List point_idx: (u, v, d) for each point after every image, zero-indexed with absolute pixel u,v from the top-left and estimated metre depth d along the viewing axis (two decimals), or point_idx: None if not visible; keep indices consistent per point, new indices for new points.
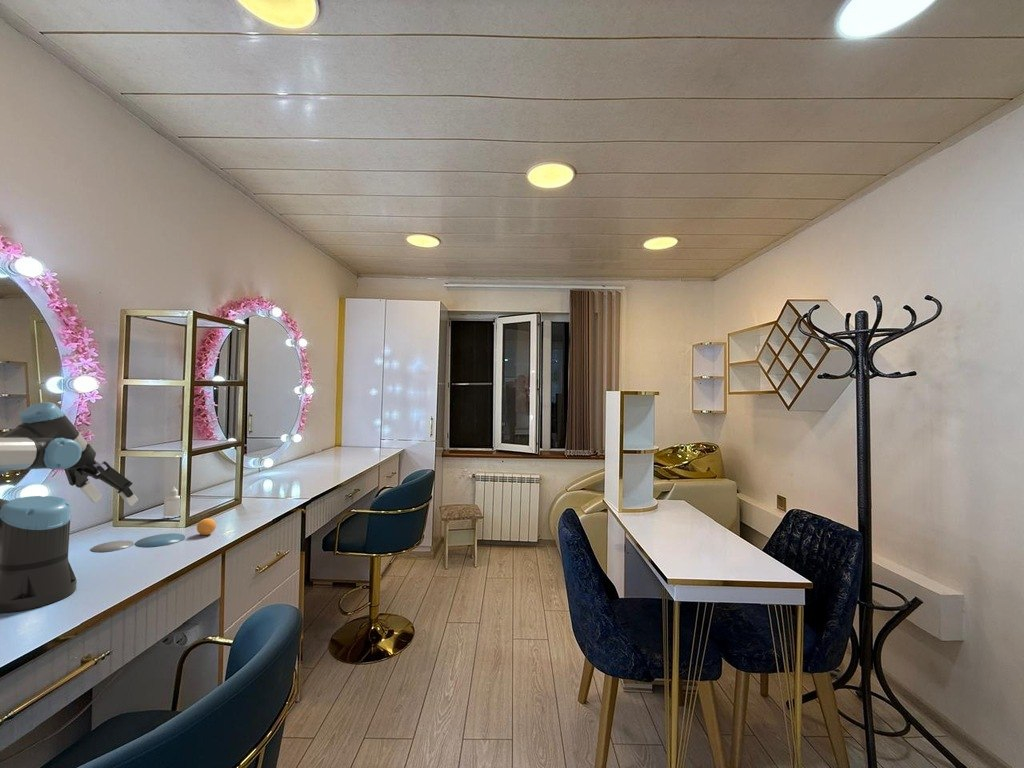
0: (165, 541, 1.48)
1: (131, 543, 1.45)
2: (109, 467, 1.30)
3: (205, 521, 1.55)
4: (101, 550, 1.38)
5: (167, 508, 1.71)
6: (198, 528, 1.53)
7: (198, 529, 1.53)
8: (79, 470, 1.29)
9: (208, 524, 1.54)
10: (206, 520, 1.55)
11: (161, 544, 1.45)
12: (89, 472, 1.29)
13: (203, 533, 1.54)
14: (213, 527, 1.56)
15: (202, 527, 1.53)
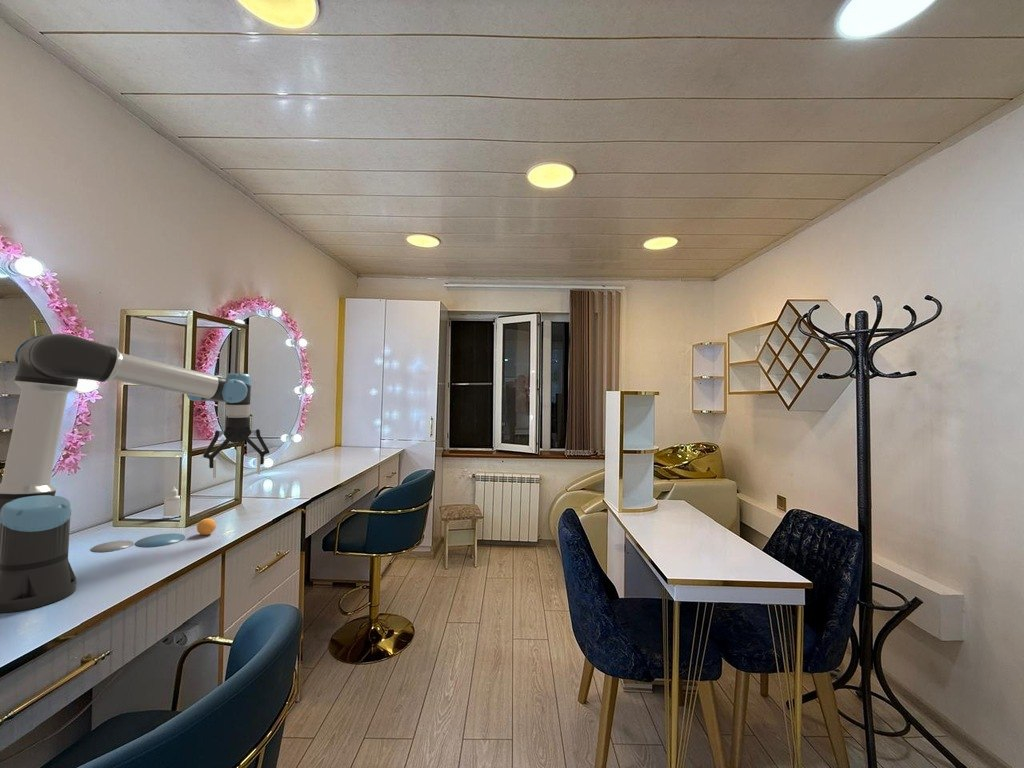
0: (165, 541, 1.48)
1: (131, 543, 1.45)
2: None
3: (205, 521, 1.55)
4: (101, 550, 1.38)
5: (167, 508, 1.71)
6: (198, 528, 1.53)
7: (198, 529, 1.53)
8: (235, 434, 1.59)
9: (208, 524, 1.54)
10: (206, 520, 1.55)
11: (161, 544, 1.45)
12: (245, 435, 1.61)
13: (203, 533, 1.54)
14: (213, 527, 1.56)
15: (202, 527, 1.53)
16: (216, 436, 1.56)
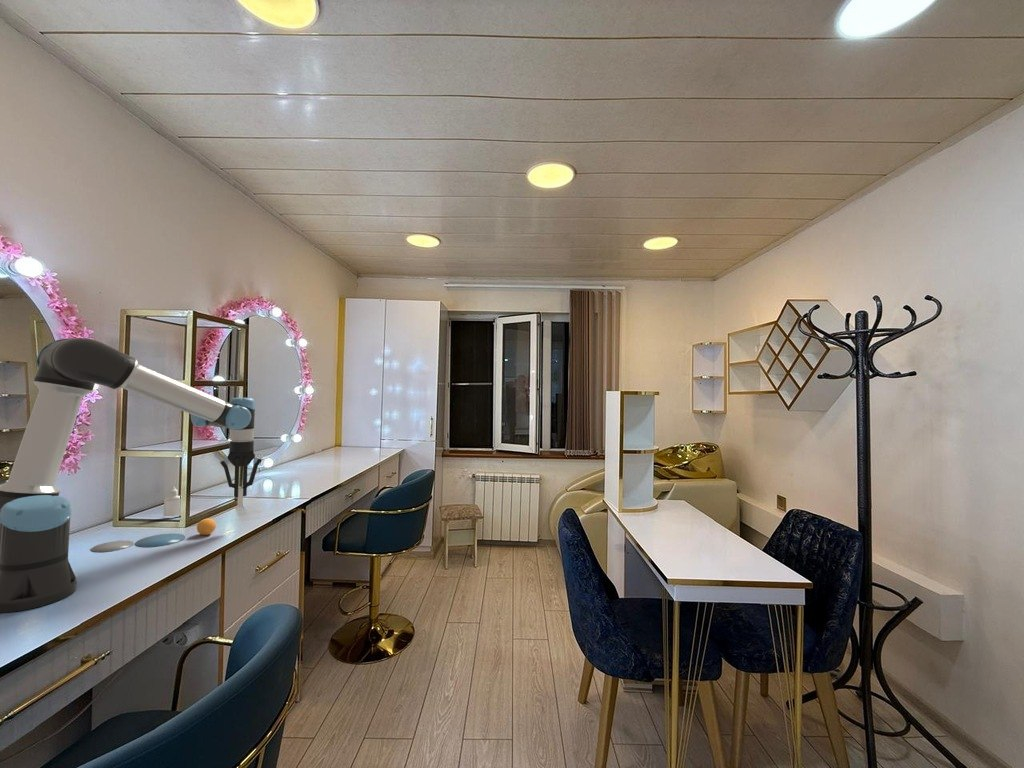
0: (165, 541, 1.48)
1: (131, 543, 1.45)
2: None
3: (205, 521, 1.55)
4: (101, 550, 1.38)
5: (167, 508, 1.71)
6: (198, 528, 1.53)
7: (198, 529, 1.53)
8: (238, 457, 1.60)
9: (208, 524, 1.54)
10: (206, 520, 1.55)
11: (161, 544, 1.45)
12: None
13: (203, 533, 1.54)
14: (213, 527, 1.56)
15: (202, 527, 1.53)
16: (224, 466, 1.58)
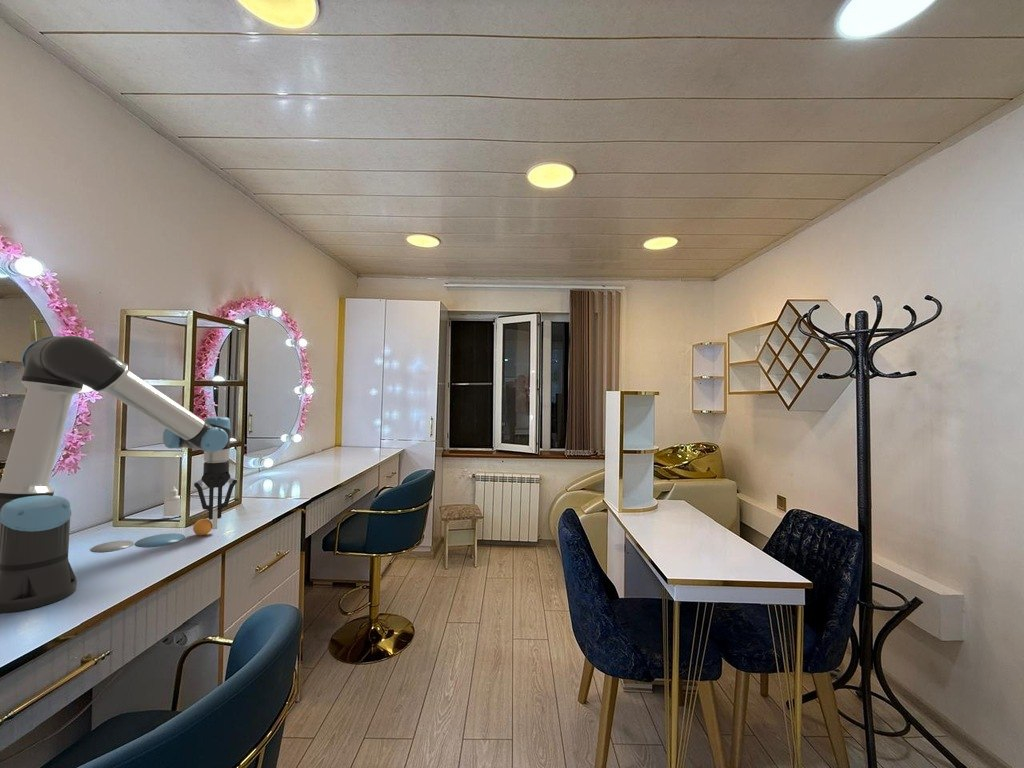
0: (165, 541, 1.48)
1: (131, 543, 1.45)
2: None
3: (200, 522, 1.54)
4: (101, 550, 1.38)
5: (167, 508, 1.71)
6: (194, 530, 1.53)
7: (195, 531, 1.53)
8: (213, 479, 1.56)
9: (203, 525, 1.53)
10: (200, 521, 1.54)
11: (161, 544, 1.45)
12: (222, 482, 1.57)
13: (201, 534, 1.54)
14: (209, 526, 1.55)
15: (199, 528, 1.53)
16: (198, 487, 1.53)
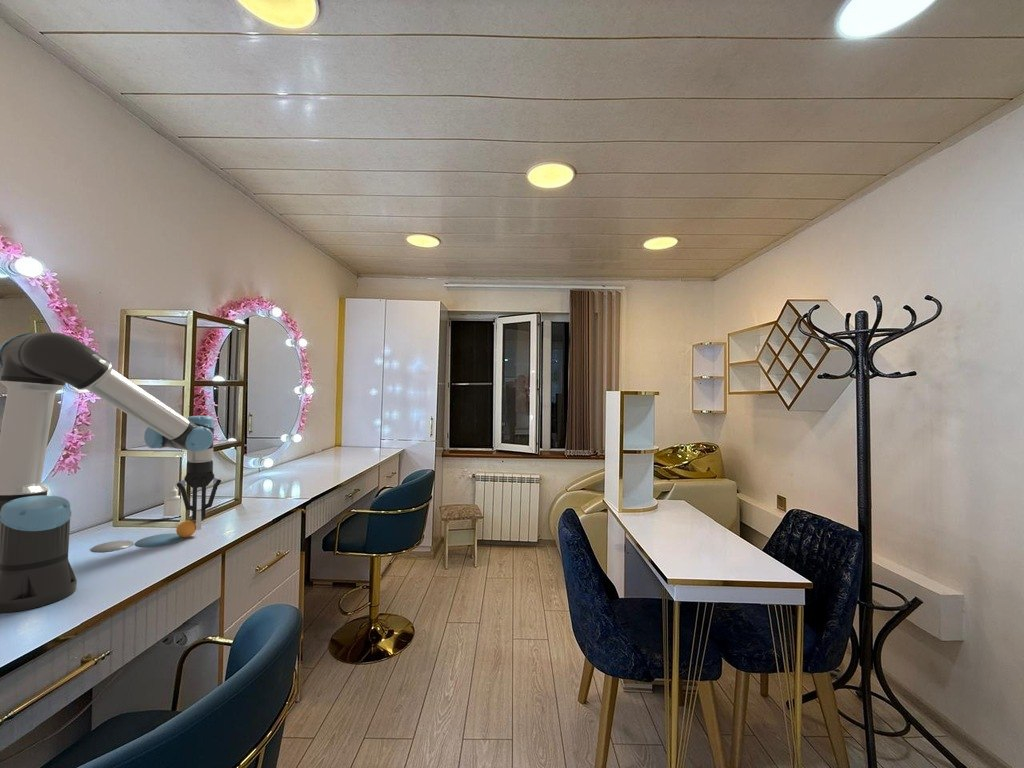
0: (165, 541, 1.48)
1: (131, 543, 1.45)
2: None
3: (181, 525, 1.51)
4: (101, 550, 1.38)
5: (167, 508, 1.71)
6: (179, 534, 1.50)
7: (179, 535, 1.51)
8: (196, 479, 1.53)
9: (185, 527, 1.51)
10: (181, 524, 1.51)
11: (161, 544, 1.45)
12: (205, 482, 1.55)
13: (187, 535, 1.51)
14: (192, 526, 1.52)
15: (182, 532, 1.50)
16: (181, 488, 1.51)
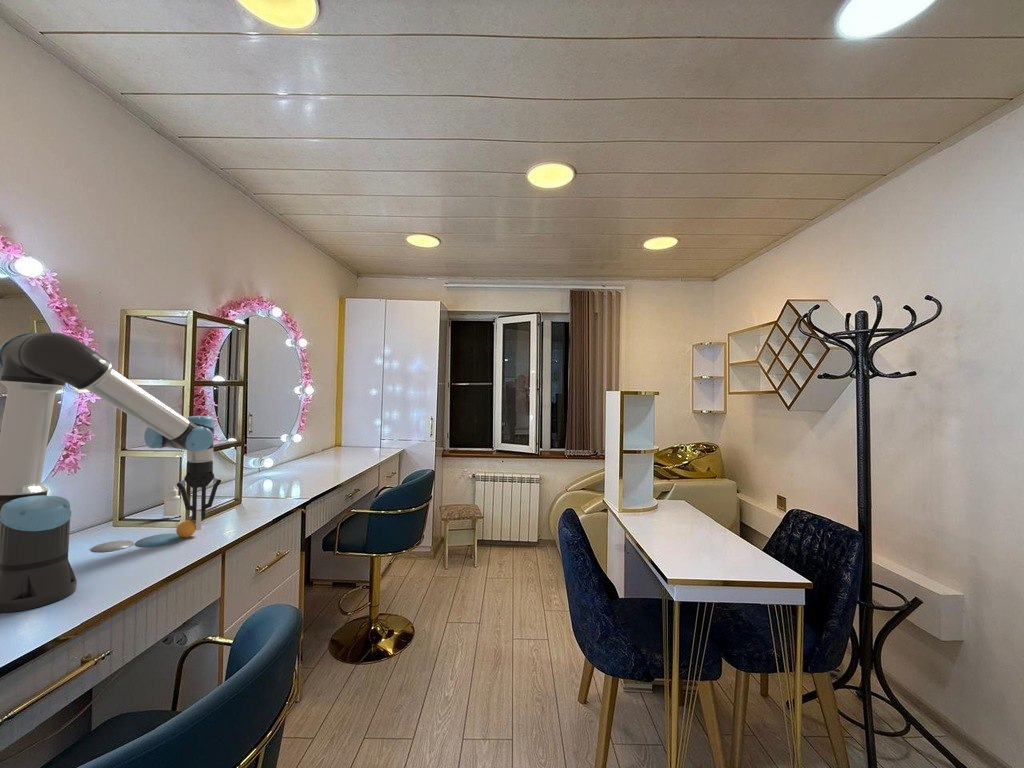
0: (165, 541, 1.48)
1: (131, 543, 1.45)
2: None
3: (181, 525, 1.51)
4: (101, 550, 1.38)
5: (167, 508, 1.71)
6: (179, 534, 1.50)
7: (179, 535, 1.51)
8: (196, 479, 1.53)
9: (185, 527, 1.51)
10: (181, 524, 1.51)
11: (161, 544, 1.45)
12: (205, 482, 1.55)
13: (187, 535, 1.51)
14: (192, 526, 1.52)
15: (182, 532, 1.50)
16: (181, 488, 1.51)
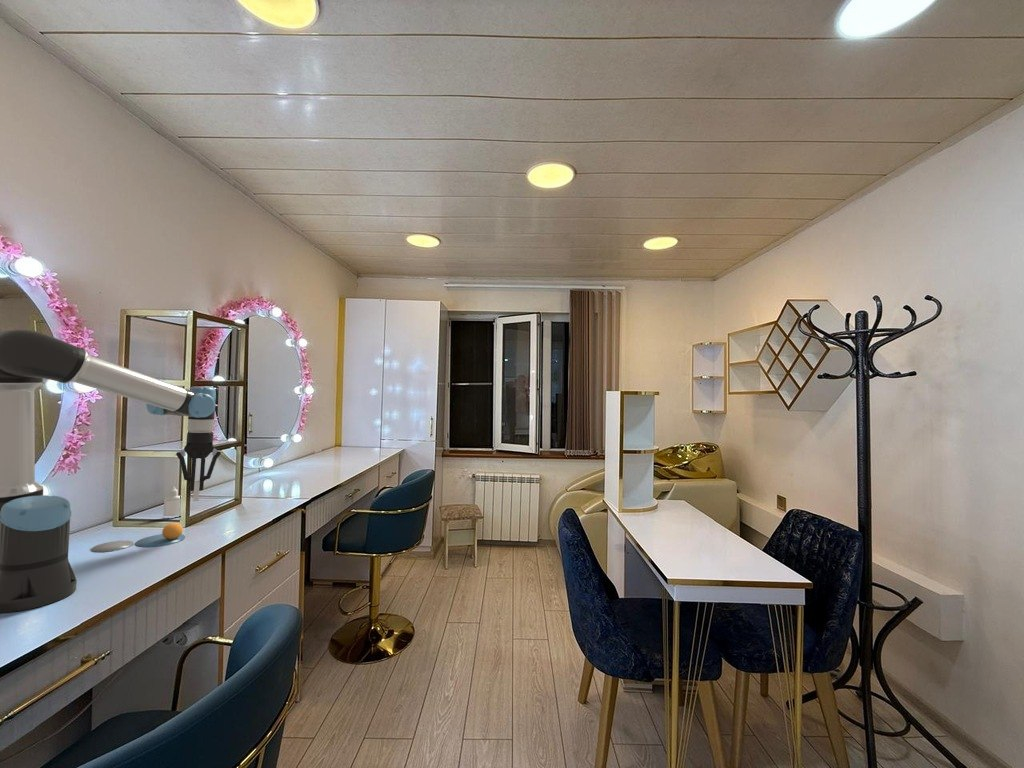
0: (165, 541, 1.48)
1: (131, 543, 1.45)
2: None
3: (165, 537, 1.48)
4: (101, 550, 1.38)
5: (167, 508, 1.71)
6: (175, 538, 1.50)
7: (176, 537, 1.50)
8: (196, 449, 1.53)
9: (168, 534, 1.48)
10: (164, 536, 1.48)
11: (161, 544, 1.45)
12: None
13: (180, 532, 1.50)
14: (170, 528, 1.48)
15: (172, 537, 1.48)
16: (180, 457, 1.51)
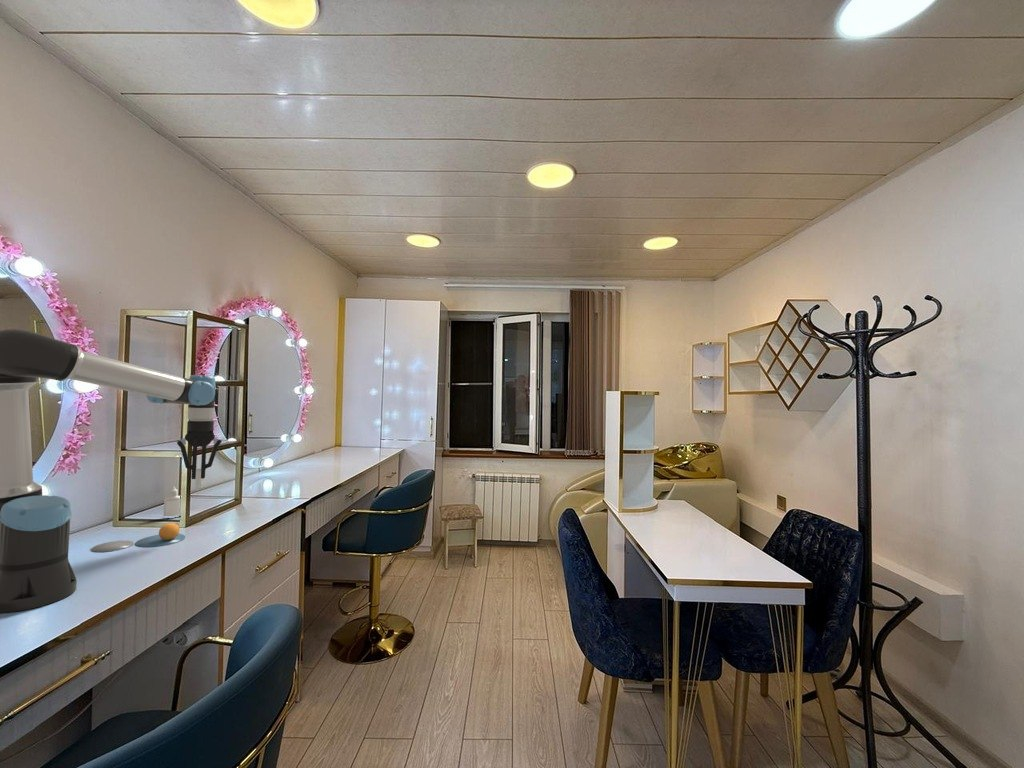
0: (165, 541, 1.48)
1: (131, 543, 1.45)
2: None
3: (163, 539, 1.48)
4: (101, 550, 1.38)
5: (167, 508, 1.71)
6: (174, 537, 1.50)
7: (175, 536, 1.50)
8: (196, 437, 1.53)
9: (165, 536, 1.47)
10: (162, 538, 1.48)
11: (161, 544, 1.45)
12: (206, 441, 1.54)
13: (176, 531, 1.49)
14: (165, 529, 1.47)
15: (171, 537, 1.48)
16: (181, 446, 1.51)
